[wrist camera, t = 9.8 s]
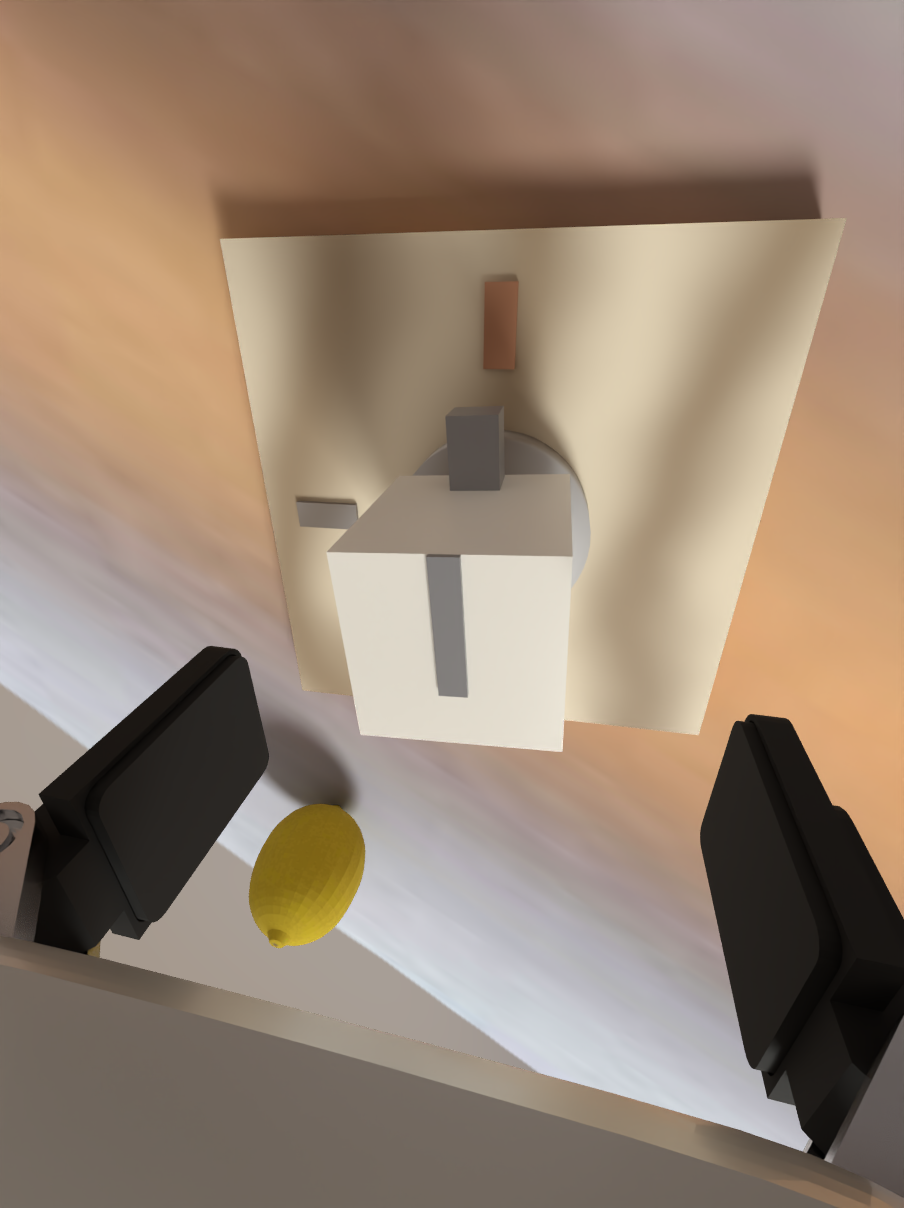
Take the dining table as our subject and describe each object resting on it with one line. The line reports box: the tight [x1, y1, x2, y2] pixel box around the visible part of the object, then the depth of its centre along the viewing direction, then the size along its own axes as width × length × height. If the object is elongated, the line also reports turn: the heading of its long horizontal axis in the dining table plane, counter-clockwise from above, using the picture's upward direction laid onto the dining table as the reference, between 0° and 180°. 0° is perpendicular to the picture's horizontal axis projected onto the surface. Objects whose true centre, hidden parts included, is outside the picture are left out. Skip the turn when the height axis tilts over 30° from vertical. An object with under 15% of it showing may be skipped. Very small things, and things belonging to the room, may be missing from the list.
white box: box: [326, 406, 573, 752], centre depth 14 cm, size 7×5×6 cm
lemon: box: [249, 804, 365, 948], centre depth 28 cm, size 6×6×8 cm
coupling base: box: [220, 218, 847, 735], centre depth 19 cm, size 18×18×4 cm
